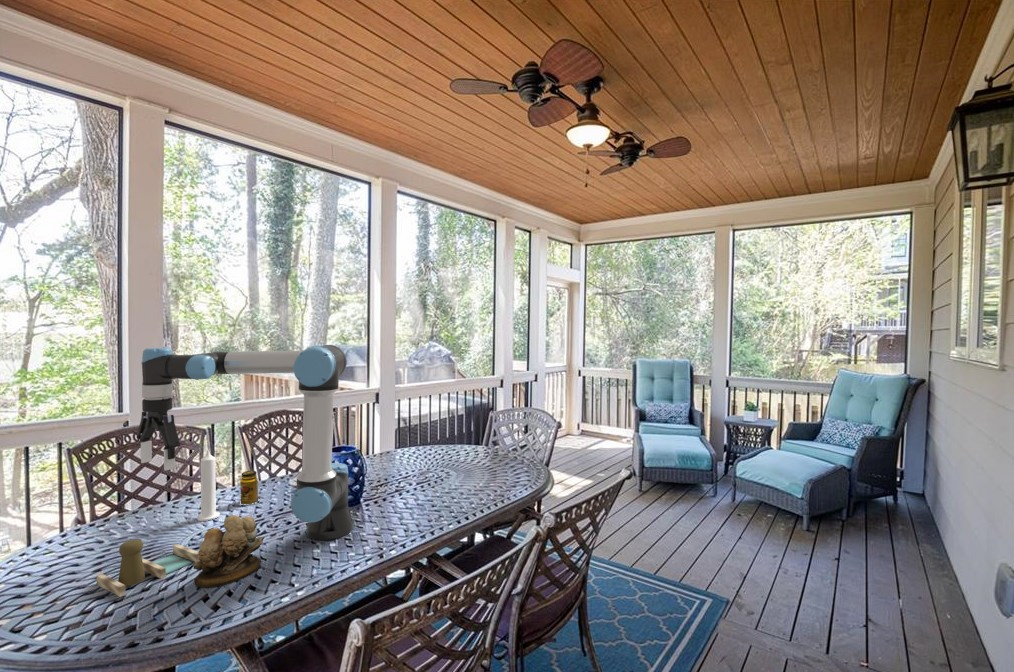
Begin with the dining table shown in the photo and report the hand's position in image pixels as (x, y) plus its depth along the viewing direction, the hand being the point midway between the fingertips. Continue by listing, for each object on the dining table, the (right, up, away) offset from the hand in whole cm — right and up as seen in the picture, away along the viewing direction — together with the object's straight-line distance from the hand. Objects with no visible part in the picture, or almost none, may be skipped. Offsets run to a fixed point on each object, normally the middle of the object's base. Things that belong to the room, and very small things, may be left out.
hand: (157, 465), depth 147 cm
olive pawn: (+4, -28, -16) cm, 32 cm away
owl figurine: (+29, -28, -11) cm, 42 cm away
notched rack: (+9, -27, -7) cm, 30 cm away
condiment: (+6, -26, +42) cm, 49 cm away
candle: (-1, -26, +26) cm, 37 cm away
